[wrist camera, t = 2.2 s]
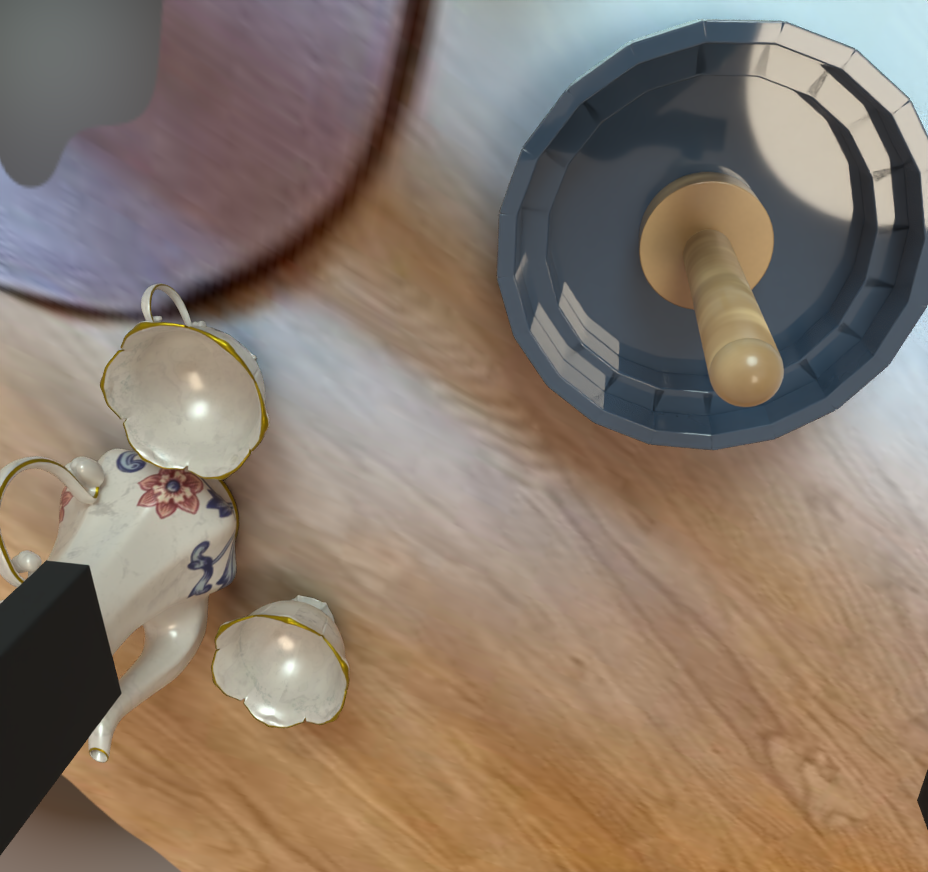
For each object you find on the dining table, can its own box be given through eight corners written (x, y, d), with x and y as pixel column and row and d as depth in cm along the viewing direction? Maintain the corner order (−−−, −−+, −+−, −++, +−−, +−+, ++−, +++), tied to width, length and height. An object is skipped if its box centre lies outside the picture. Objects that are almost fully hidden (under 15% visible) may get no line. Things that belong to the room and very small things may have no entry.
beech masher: (776, 174, 36) (884, 292, 21) (754, 298, 39) (836, 485, 24) (645, 168, 37) (657, 277, 22) (632, 290, 40) (634, 465, 24)
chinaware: (411, 654, 56) (366, 880, 41) (185, 694, 59) (65, 919, 44) (256, 245, 45) (115, 347, 30) (-12, 320, 48) (-263, 447, 33)
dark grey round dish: (956, 23, 34) (1005, 24, 29) (857, 418, 42) (884, 466, 37) (519, 15, 36) (505, 16, 32) (504, 389, 44) (491, 430, 40)
